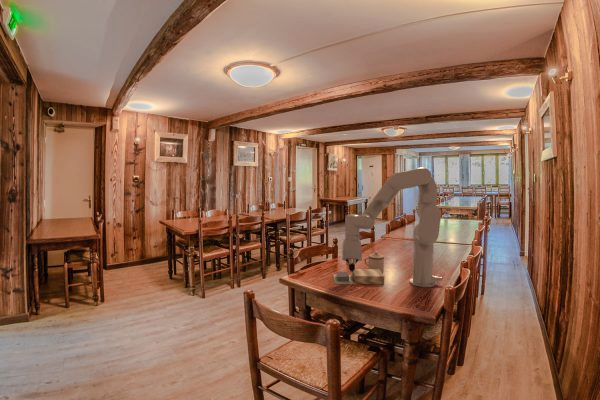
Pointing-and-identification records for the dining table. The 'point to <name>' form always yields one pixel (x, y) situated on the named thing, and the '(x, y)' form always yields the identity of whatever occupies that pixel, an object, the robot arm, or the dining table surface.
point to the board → (368, 276)
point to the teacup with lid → (375, 261)
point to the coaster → (342, 276)
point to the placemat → (343, 281)
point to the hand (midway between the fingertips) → (351, 271)
